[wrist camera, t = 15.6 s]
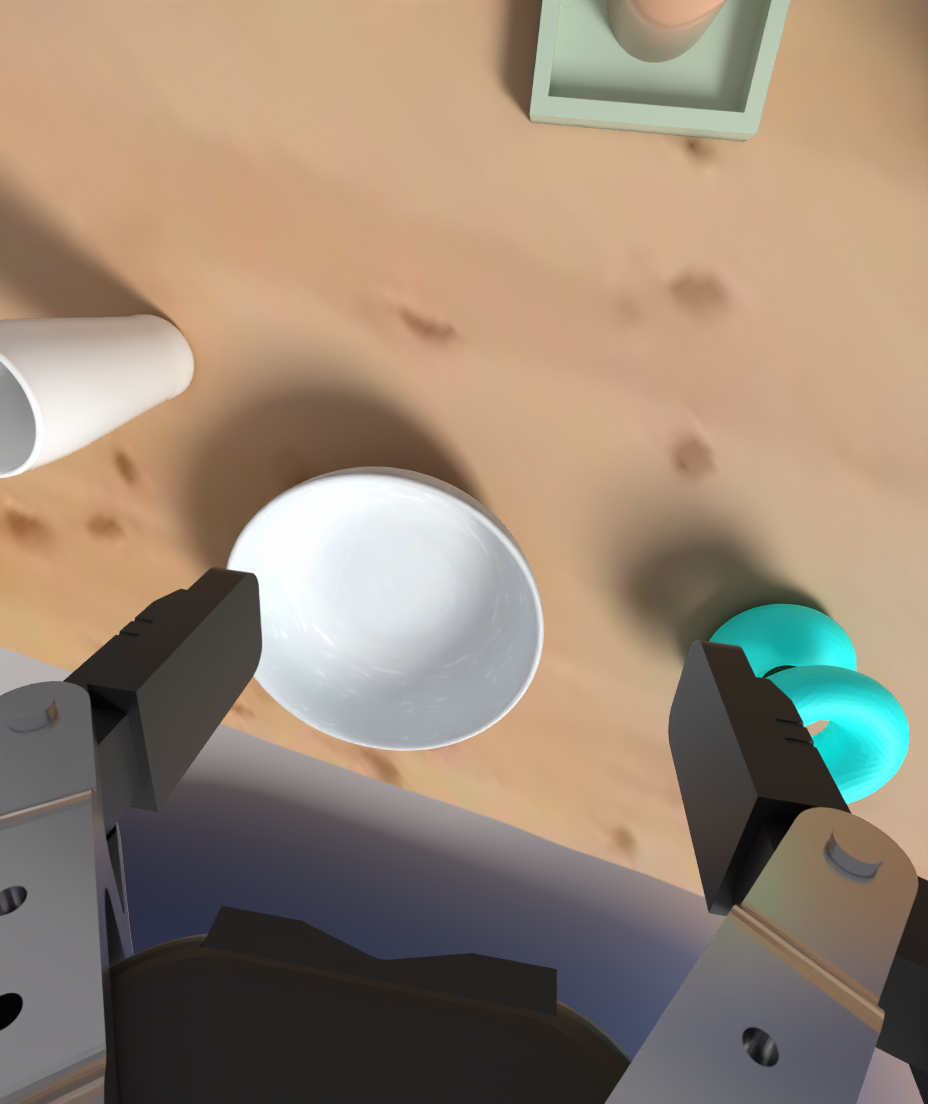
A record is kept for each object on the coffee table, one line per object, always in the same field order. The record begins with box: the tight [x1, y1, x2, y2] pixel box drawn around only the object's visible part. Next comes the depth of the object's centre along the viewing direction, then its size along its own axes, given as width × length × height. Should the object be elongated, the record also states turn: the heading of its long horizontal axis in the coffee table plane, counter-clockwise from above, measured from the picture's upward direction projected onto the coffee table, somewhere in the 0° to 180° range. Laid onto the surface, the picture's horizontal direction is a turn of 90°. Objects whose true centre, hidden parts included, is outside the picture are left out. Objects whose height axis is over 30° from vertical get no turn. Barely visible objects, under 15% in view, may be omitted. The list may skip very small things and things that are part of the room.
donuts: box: [709, 604, 909, 804], centre depth 41 cm, size 10×10×10 cm
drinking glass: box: [0, 314, 194, 478], centre depth 34 cm, size 7×7×15 cm
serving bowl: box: [226, 466, 544, 751], centre depth 43 cm, size 21×21×7 cm
